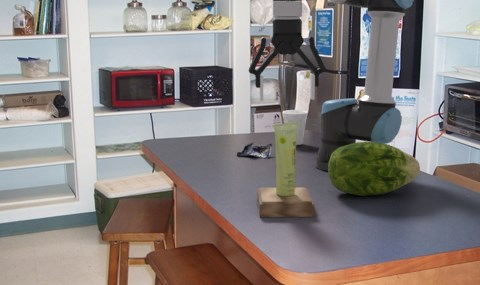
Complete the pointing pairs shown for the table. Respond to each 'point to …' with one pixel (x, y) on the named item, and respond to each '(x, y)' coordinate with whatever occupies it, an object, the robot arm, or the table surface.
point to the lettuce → (371, 168)
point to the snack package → (256, 150)
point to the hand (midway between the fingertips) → (286, 99)
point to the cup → (297, 117)
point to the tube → (285, 157)
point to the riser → (285, 203)
